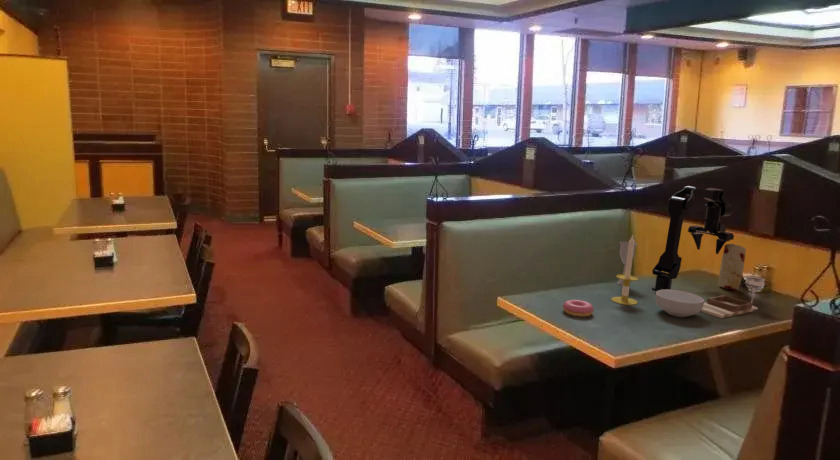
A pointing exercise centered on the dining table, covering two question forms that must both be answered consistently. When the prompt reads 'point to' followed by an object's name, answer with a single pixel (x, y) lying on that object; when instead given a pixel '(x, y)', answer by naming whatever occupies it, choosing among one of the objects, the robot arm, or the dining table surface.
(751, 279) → the wineglass
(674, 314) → the cereal bowl
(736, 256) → the food model
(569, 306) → the doughnut
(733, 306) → the brown wooden tray
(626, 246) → the chalice
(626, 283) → the candle
